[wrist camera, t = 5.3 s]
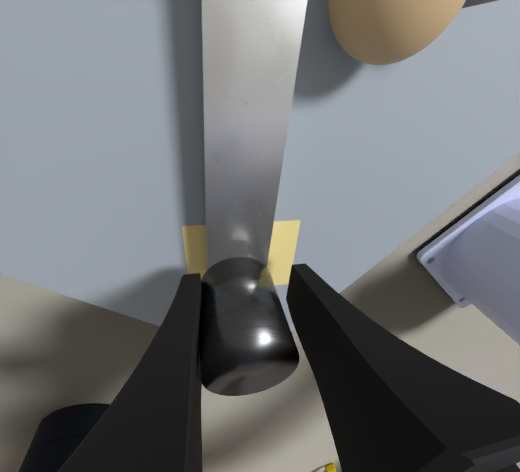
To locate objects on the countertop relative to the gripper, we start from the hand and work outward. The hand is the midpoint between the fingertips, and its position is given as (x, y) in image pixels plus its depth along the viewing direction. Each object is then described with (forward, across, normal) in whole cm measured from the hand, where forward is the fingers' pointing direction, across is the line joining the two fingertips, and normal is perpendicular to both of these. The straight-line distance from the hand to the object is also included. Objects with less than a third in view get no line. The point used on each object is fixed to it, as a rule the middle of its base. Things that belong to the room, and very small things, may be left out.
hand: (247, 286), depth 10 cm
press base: (+3, -1, -5) cm, 6 cm away
